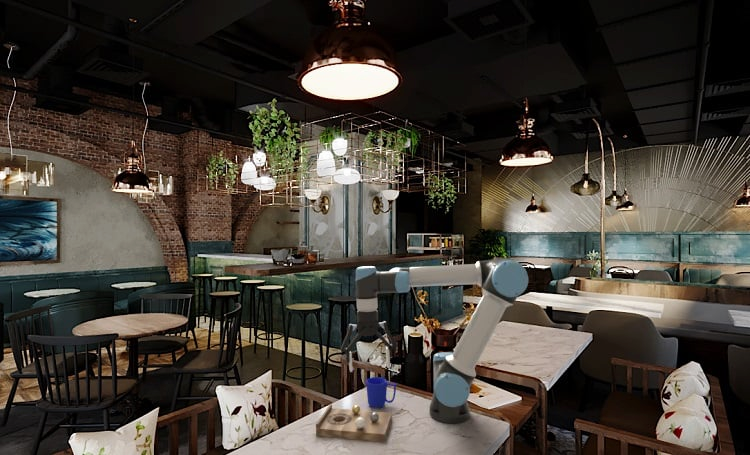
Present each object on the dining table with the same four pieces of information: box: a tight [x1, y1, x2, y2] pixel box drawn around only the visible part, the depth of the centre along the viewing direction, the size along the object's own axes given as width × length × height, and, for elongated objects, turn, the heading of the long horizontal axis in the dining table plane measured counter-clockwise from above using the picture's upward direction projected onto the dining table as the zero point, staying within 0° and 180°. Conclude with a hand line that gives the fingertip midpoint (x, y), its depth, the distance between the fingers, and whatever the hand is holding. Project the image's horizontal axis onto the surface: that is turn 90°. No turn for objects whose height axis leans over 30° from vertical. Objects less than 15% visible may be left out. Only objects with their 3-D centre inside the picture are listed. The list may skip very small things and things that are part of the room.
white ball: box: [355, 417, 365, 429], centre depth 138 cm, size 4×4×4 cm
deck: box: [315, 403, 393, 443], centre depth 144 cm, size 24×16×4 cm, turn 79°
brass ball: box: [351, 404, 361, 414], centre depth 149 cm, size 3×3×3 cm
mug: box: [365, 376, 397, 409], centre depth 161 cm, size 8×12×10 cm
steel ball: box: [370, 411, 379, 422], centre depth 142 cm, size 3×3×3 cm
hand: (369, 369), depth 144 cm, fingers open, 13 cm apart
